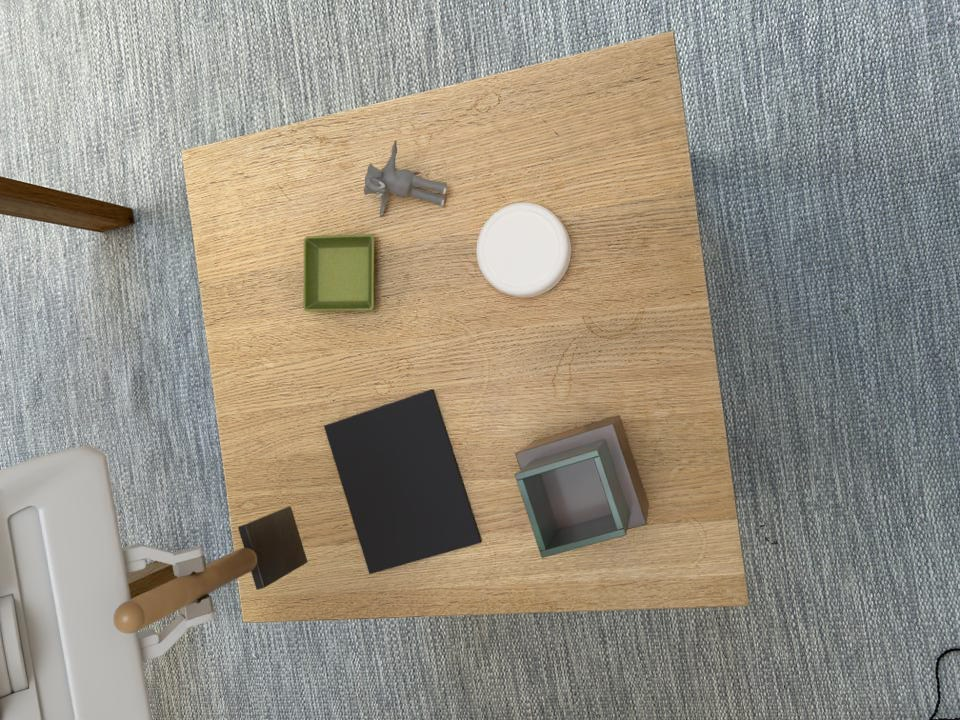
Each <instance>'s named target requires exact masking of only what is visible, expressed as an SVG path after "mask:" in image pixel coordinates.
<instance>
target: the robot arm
mask: <svg viewBox="0 0 960 720" xmlns="http://www.w3.org/2000/svg"><path fill="white" fill-rule="evenodd" d="M109 472H110V471H109V466H108V462H107V456H106V455H105V453H104V452H102V451H101V450H99V449H97V448H95V447H94V446H91V445H81V446H77V447H72V448H67V449H63V450H60V451H55V452H52V453H47V454H45V455H40V456H38V457H34V458H30V459H28V460H25V461H22V462H19V463H16V464H13V465H11V466H7V467H5V468H2V469H0V720H154V719H153V713H152V708H151V702H150V698H149V697H150V696H149V692H148V691H149V690H148V686H147V680H146V675H145V669H144V662H147V661H149V660H150V661H151V660H153V659H157V658H159V657H163V656H164V655H165V654H166V653H167V652H168V651H169V650H170V649H171V648H172V647H173V646H174V645H175V644H176V643H177V642H178V641H179V640H180V639H181V638H182V637H183V636H184V635H185V634H186V633H187V632H188V631H189V629H190V628H194V627H196V626H199V625H202V624H205V623H209V622H212V621H213V620H215V619H216V614H215V608H214V604H213V603H214V602H213V597H212V595H210V593H209V594H207V595H205V596H203V597H202V598H200V599H198V600H196V601H194V602H192V603H190V604H188V605H186V606H185V607H183V608H181V609H179V610H180V614H178V615H177V616H176V617H175V618H174V619H173V620H172V621H171V622H170V623H168V624H167V626H165V627H164V628H163V629H162V630H161V631H160V632H159V633H157V632H156V631H155V629H154V628H153V627H152V628H151V627H150V628H147V629H145V630H140V631H137V632H135V633H131V634H126V633H122V632H120V631H119V630H118V629H117V628H116V627H115V625H114V622H113V617H114V613H115V611H116V609H117V608H118V607H119V606H120V605H121V604H122V603H124V602H126V601H128V600H130V599H132V595H131V590H130V586H129V585H130V584H129V579H128V574H131V573H134V572H139V571H142V570H144V569H146V567H147V563H146V560H151V561H154V562H159V563H163V564H166V565H171V566H172V570H173V575H174V576H175V577H176V578H178V577H184V576H189V575H190V574H191V573H192V572H195V573H199V572H202V571H205V570H206V564H207V563H206V559H205V554H204V553H205V552H204V547H203V546H200V545H198V546H192V547H188V548H184V549H179V550H176V551H173V552H172V551H170V550H166V549H162V548H158V547H154V546H151V545H146V544H142V543H139V542H138V543H134V544H131V545H127V546H126V545H125V546H123V545H122V541H121V533H120V528H119V522H118V516H117V512H116V505H115V500H114V495H113V490H112V484H111V477H110V473H109ZM145 559H146V560H145Z"/></svg>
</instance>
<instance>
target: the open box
mask: <svg viewBox="0 0 960 720" xmlns="http://www.w3.org/2000/svg"><path fill="white" fill-rule="evenodd" d="M514 454H515V457H516V460H517V464H518V467H519V470H518V471H517V472H515V473H514V478H515V480H516V483H517V486H518V487H517V488H518V489H519V493H520V496H521V499H522V503H523V505H524V508H525V512H526V514H527V517H528V521H529V523H530V527H531V530H532V533H533V536H534V539H535V542H536V545H537V549H538V552H539V554H540V557H541V558H542V559H543V558H548V557H551V556H555V555H560V554H563V553H566V552H570V551H574V550H577V549H581V548H585V547H589V546H592V545H596V544H599V543H603V542H605V541H606V542H607V541H610V540H615V539H617V538H621V537H625V536H627V532H628V530H632V529H636V528H639V527H642V526H646V525H647V524H648V516H649V507H650V501H649V499H648V496H647V493H646V491H645V490H646V489H645V488H644V485H643V481H642V478H641V475H640V472H639V470H638V466H637V464H636V460H635V458H634V455H633V452H632V449H631V445H630V443H629V440H628V436H627V434H626V431H625V428H624V425H623V421H622V419H621V416H620V414H617V415H613V416H610V417H607V418H604V419H602V420H601V419H600V420H598V421H595V422H591V423H589V424H586V425H581V426H579V427H575V428H572V429H569V430H565V431H563V432H559V433H555V434H553V435H549V436H546V437H543V438H540V439H537V440H533V441H531V442H530V443H529V444H527V445H525V446H524V447H523V448H521V449H520V450H518V451H516V452H515V453H514Z"/></svg>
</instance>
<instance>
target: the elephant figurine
mask: <svg viewBox="0 0 960 720" xmlns="http://www.w3.org/2000/svg"><path fill="white" fill-rule="evenodd" d="M397 143H398V141H397V140H394V141H393V144H392V146H391V152H390V153H391V155H390V157H389V159H388V161H387V163H386V165H385V166H384V167H383V168H381V169H379V168H377V167H375V166H374V165H373V164H372V163H369V164H368V165H367V171H366V174H365V177H364V188H363V194H364V195H365V196H367V195H376V194H377V195H376V196H375V199H378V198H380V203H381V204H380V207H379V213H380V214H379V217H380V218H382V216H383V215H384V213H385V210H386V207H387V201H388V199H389V196H390V193H391V194H393V195H395V196H396V197H398V198H406V197H408V196H411V197H412V198H415V199H419V200H423V201H426V202H429V203H433V204H435V205H438V206H442V207H444V205H445V195H446V193H447V188H448V187H447V185H448V184H447V183H445V182H442V181H435V180H429V179H427V178H424V177H420V176H417V174H420V171H411V169H407V168H400V169H399V168H396V157H397V154H398V146H397V145H398V144H397ZM424 189H425V190H424ZM427 190H429V191H427ZM431 191H432V192H431ZM435 192H438V193H435Z"/></svg>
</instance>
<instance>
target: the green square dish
mask: <svg viewBox="0 0 960 720" xmlns="http://www.w3.org/2000/svg"><path fill="white" fill-rule="evenodd" d="M302 291H303V293H302V294H303V295H302V296H303V298H302V299H303V300H302V301H303V302H302V303H303V304H302V305H303V306H302V307H303V308H302V309H303V311H305V312H356V311H357V312H359V311H360V312H361V311H362V312H363V311H364V312H369V311H370V312H371V311H373V310H374V307H375V293H374V291H375V236H374V234H371V233H361V234H360V233H358V234H337V235H336V234H333V235H307V236H305V237H304V239H303V290H302Z"/></svg>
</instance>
